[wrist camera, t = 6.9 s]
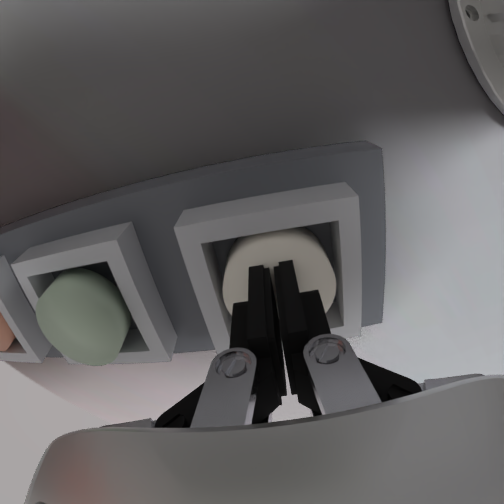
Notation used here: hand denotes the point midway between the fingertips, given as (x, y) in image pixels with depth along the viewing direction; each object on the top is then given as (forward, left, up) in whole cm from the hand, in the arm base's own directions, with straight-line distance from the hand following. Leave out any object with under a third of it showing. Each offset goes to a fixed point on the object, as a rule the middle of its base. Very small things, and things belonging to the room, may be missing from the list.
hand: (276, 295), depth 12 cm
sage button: (+9, 0, -1) cm, 9 cm away
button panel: (+9, 0, -4) cm, 10 cm away
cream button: (0, 0, -2) cm, 2 cm away
